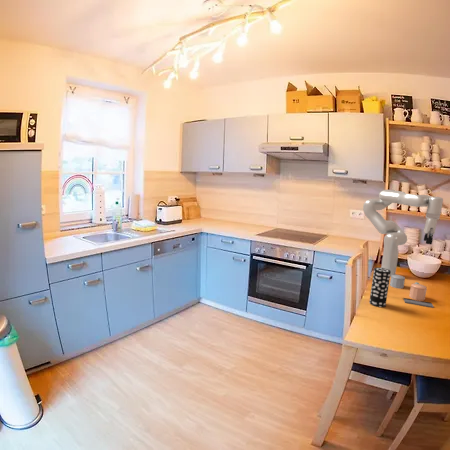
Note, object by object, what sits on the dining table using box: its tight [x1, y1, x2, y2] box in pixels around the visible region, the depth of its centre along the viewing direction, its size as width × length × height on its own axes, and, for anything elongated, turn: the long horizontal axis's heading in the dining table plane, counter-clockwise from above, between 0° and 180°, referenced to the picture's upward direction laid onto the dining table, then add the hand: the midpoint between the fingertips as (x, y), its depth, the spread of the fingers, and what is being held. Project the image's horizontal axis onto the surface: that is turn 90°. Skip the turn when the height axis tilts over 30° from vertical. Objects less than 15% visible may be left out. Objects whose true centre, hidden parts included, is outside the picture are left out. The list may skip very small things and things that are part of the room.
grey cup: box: [389, 274, 406, 289], centre depth 207 cm, size 8×8×8 cm
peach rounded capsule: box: [408, 283, 428, 302], centre depth 189 cm, size 8×8×8 cm
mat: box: [402, 297, 434, 309], centre depth 189 cm, size 14×16×1 cm
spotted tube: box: [368, 267, 391, 308], centre depth 179 cm, size 8×8×20 cm
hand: (427, 242), depth 208 cm, fingers open, 9 cm apart
